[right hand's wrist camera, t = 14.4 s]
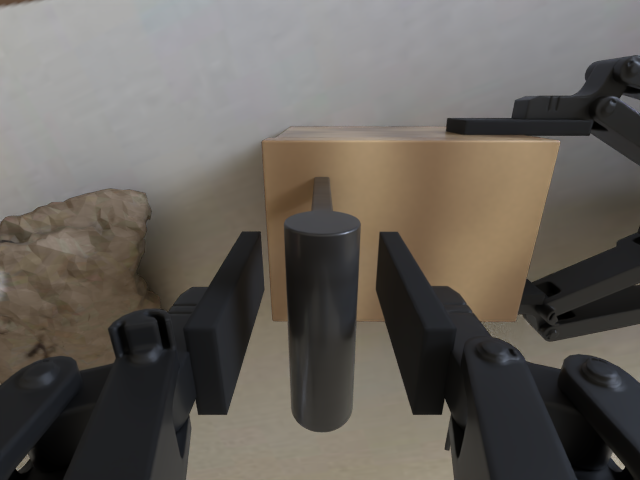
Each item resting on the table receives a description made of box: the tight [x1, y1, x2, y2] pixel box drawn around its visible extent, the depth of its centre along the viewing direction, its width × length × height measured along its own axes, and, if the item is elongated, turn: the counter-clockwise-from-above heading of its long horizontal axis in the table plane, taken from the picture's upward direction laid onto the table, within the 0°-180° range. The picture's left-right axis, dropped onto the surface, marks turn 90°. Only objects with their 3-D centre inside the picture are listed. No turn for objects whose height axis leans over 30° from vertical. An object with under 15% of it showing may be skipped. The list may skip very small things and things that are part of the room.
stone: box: [0, 189, 161, 384], centre depth 27 cm, size 21×15×6 cm
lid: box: [262, 138, 560, 432], centre depth 14 cm, size 13×10×9 cm
